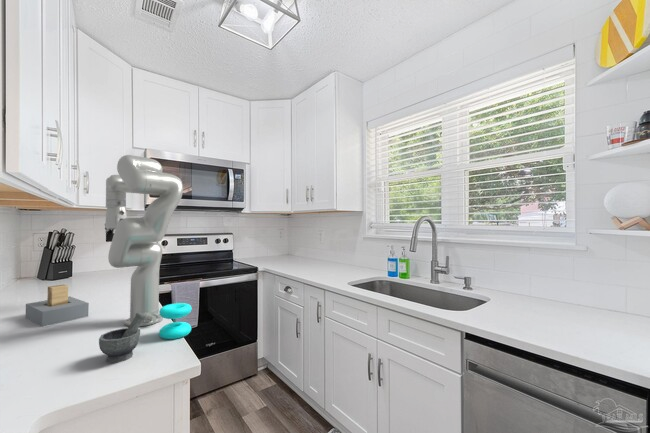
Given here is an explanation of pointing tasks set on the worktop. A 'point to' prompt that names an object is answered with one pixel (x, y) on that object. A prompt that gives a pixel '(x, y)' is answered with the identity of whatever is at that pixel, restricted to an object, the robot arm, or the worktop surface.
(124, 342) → the mortar and pestle
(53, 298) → the oak post
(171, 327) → the donuts
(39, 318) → the well block
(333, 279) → the worktop surface
